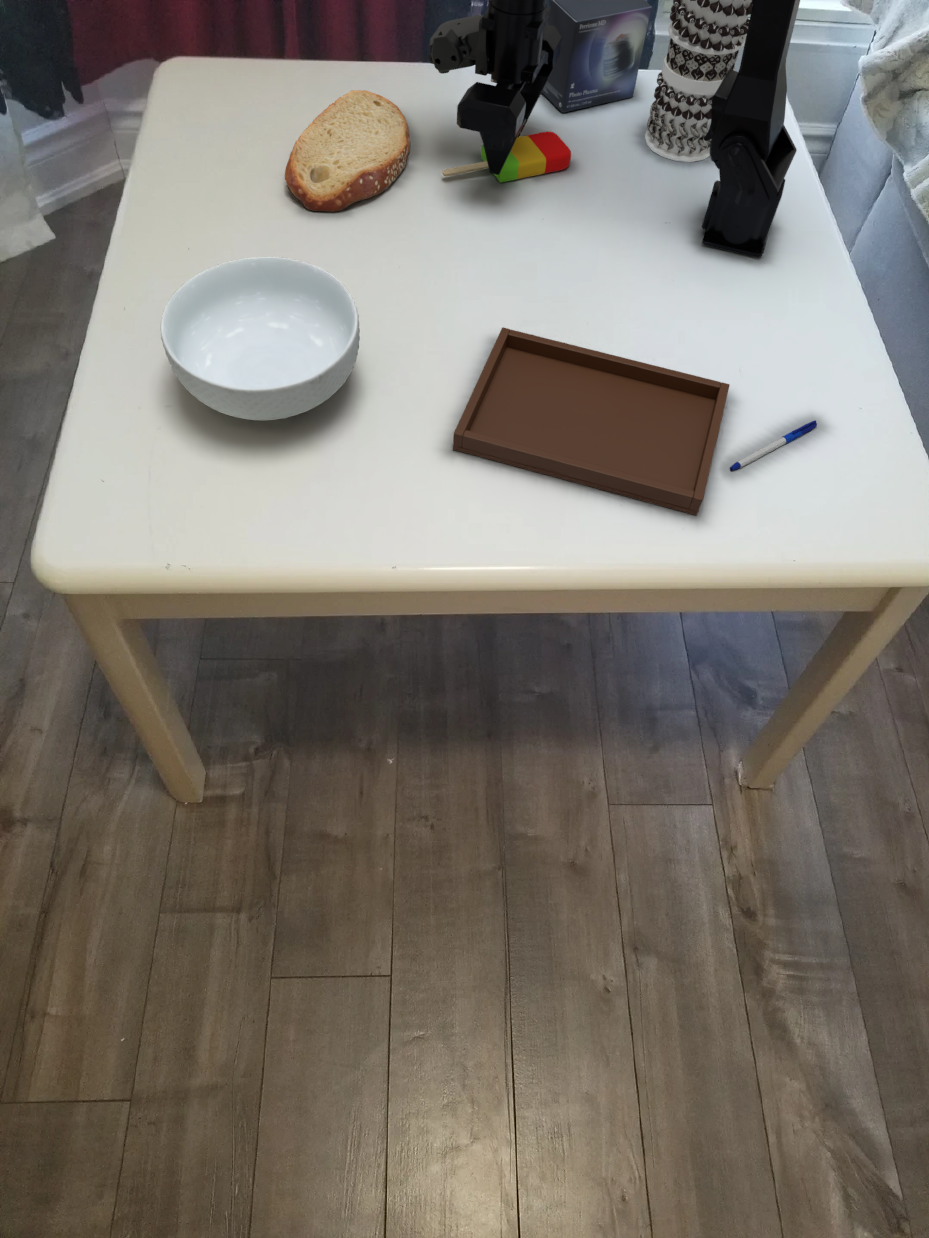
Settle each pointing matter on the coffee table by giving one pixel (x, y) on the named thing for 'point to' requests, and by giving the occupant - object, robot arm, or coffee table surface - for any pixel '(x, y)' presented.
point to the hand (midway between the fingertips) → (504, 155)
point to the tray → (595, 420)
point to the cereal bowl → (261, 336)
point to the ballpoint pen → (774, 445)
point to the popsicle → (526, 158)
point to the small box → (596, 51)
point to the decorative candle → (694, 74)
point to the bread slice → (348, 152)
